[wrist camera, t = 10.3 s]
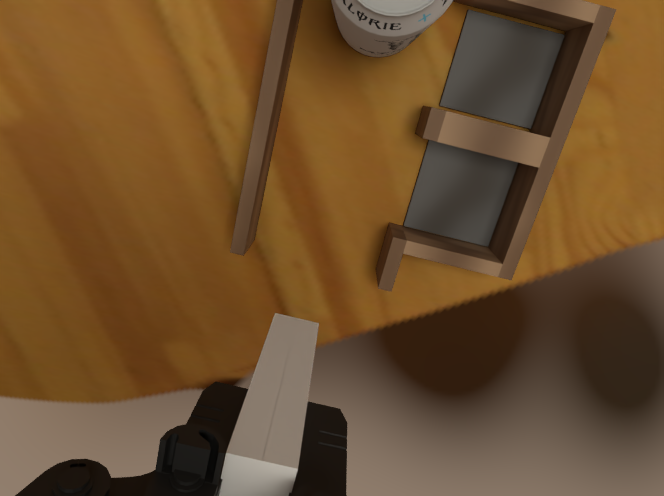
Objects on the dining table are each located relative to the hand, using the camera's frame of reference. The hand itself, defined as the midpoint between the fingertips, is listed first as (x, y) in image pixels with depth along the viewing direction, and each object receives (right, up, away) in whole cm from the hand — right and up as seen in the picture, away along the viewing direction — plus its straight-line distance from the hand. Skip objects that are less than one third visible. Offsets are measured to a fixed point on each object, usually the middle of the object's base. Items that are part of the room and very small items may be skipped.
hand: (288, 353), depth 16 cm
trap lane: (+7, +13, +19) cm, 24 cm away
